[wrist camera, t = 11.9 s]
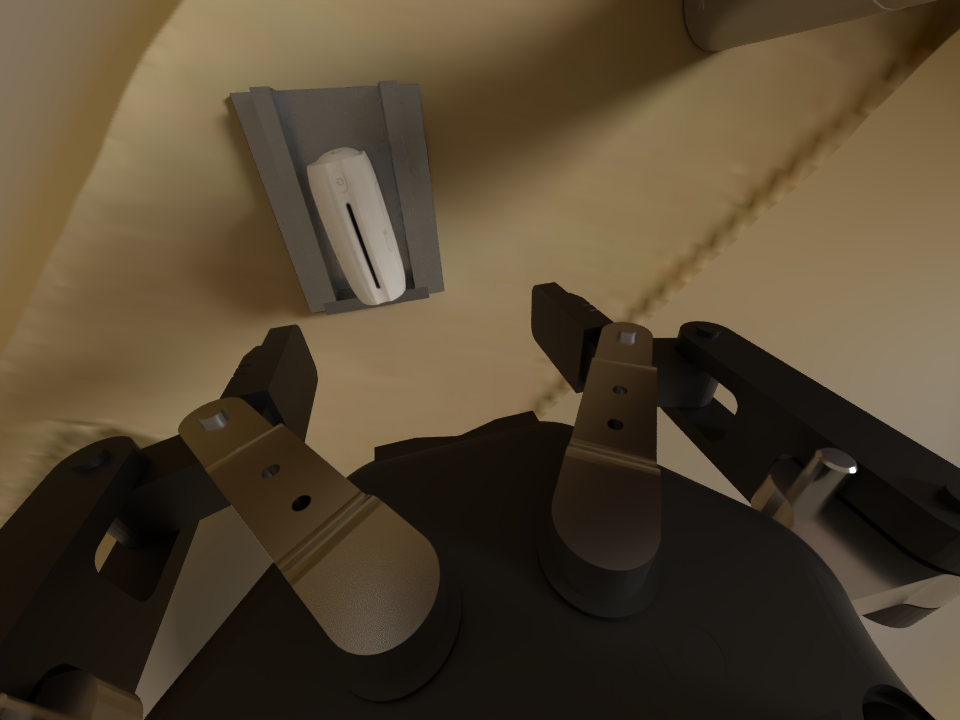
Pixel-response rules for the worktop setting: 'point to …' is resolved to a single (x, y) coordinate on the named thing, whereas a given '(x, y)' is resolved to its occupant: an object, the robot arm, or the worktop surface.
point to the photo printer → (357, 224)
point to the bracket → (395, 160)
